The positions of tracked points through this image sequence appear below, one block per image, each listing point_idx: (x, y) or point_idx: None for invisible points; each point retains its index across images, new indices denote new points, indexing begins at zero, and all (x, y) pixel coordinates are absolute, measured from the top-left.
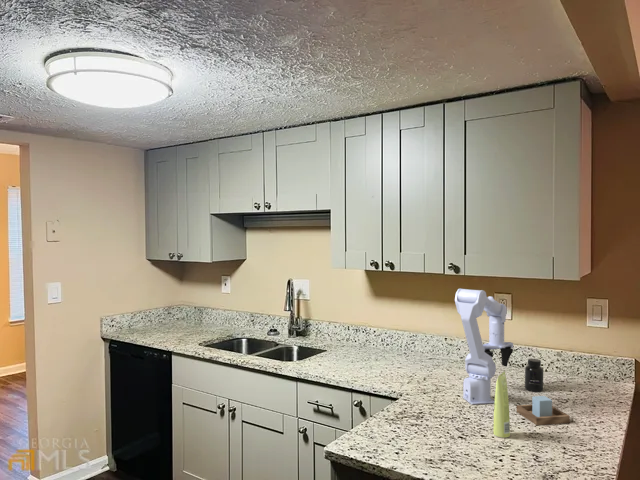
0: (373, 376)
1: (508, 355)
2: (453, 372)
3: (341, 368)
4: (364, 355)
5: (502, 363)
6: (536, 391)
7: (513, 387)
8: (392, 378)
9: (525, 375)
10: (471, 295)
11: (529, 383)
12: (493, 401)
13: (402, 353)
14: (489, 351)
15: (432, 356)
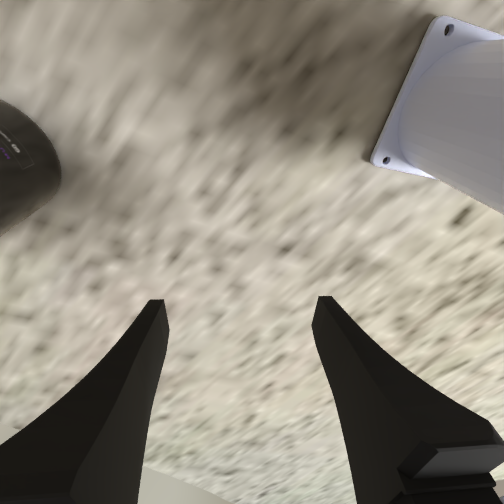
0: (481, 411)
1: (105, 392)
2: (252, 401)
3: None
4: None
5: (165, 341)
6: (3, 102)
7: (120, 224)
8: (459, 394)
9: (6, 213)
10: None
11: (20, 149)
12: (443, 27)
13: (270, 494)
14: (435, 474)
15: (213, 480)
